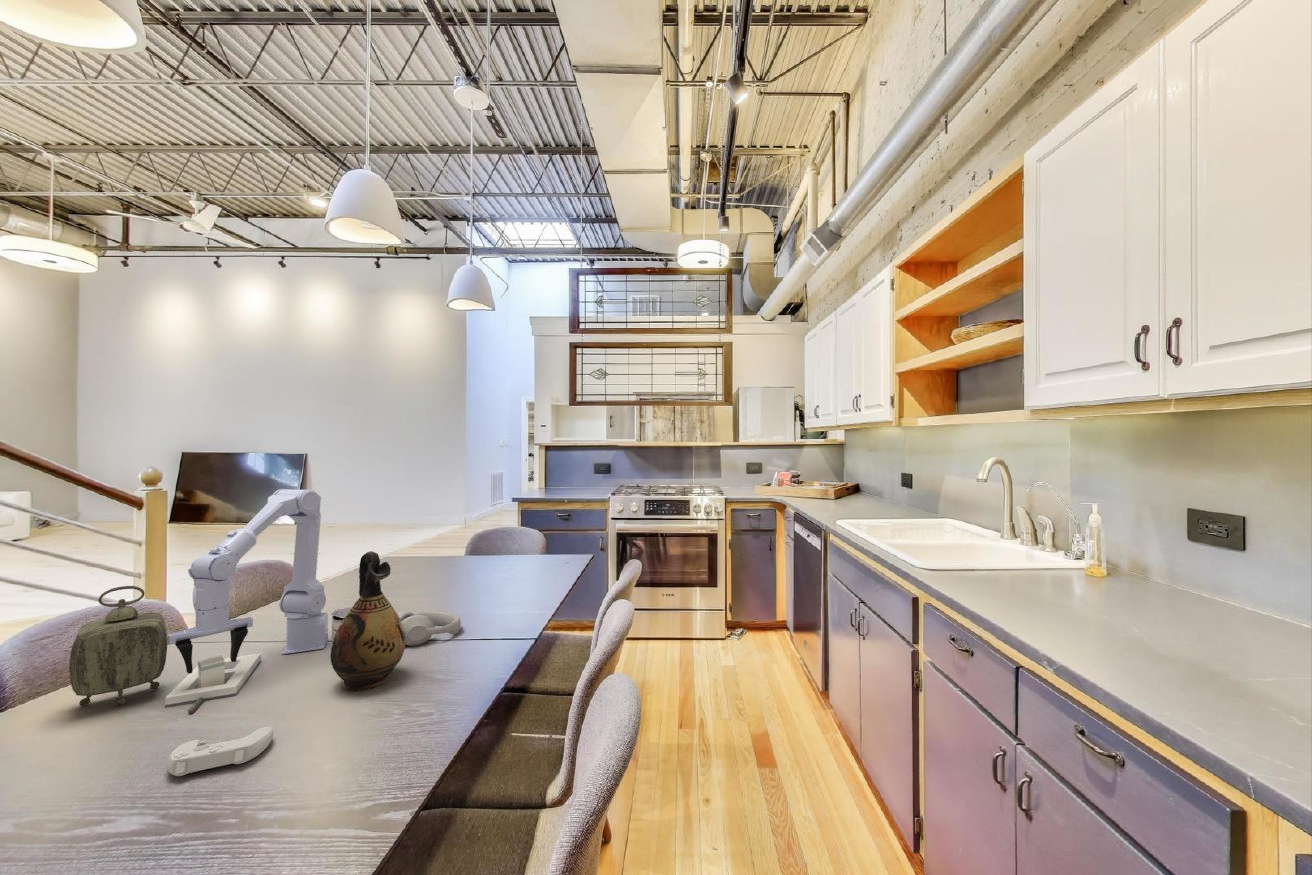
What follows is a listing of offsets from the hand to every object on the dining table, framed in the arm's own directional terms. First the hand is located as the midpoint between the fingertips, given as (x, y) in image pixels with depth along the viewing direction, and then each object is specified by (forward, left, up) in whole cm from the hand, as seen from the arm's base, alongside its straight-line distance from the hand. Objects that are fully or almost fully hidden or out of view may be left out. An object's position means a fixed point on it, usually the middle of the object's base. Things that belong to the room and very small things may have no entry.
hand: (211, 666), depth 116 cm
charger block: (0, 0, -5) cm, 5 cm away
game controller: (-11, +34, -6) cm, 36 cm away
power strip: (0, -1, -5) cm, 5 cm away
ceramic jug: (-32, +10, -6) cm, 34 cm away
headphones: (-45, -15, -6) cm, 48 cm away
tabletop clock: (+16, -1, -6) cm, 17 cm away
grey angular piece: (-28, -8, -6) cm, 30 cm away
